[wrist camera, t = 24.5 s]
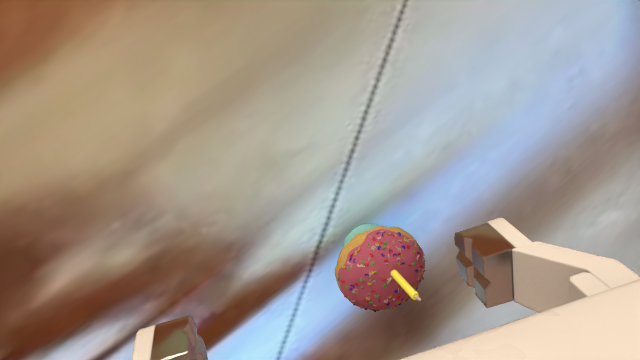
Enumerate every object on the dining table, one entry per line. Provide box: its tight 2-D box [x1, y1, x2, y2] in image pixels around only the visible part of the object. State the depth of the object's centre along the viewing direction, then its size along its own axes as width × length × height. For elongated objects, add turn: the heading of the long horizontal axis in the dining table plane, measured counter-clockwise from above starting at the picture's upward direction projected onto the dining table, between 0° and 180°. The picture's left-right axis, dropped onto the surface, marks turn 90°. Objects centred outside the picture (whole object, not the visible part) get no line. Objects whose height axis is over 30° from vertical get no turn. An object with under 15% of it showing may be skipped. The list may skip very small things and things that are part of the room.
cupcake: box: [335, 224, 425, 312], centre depth 44 cm, size 9×8×12 cm
